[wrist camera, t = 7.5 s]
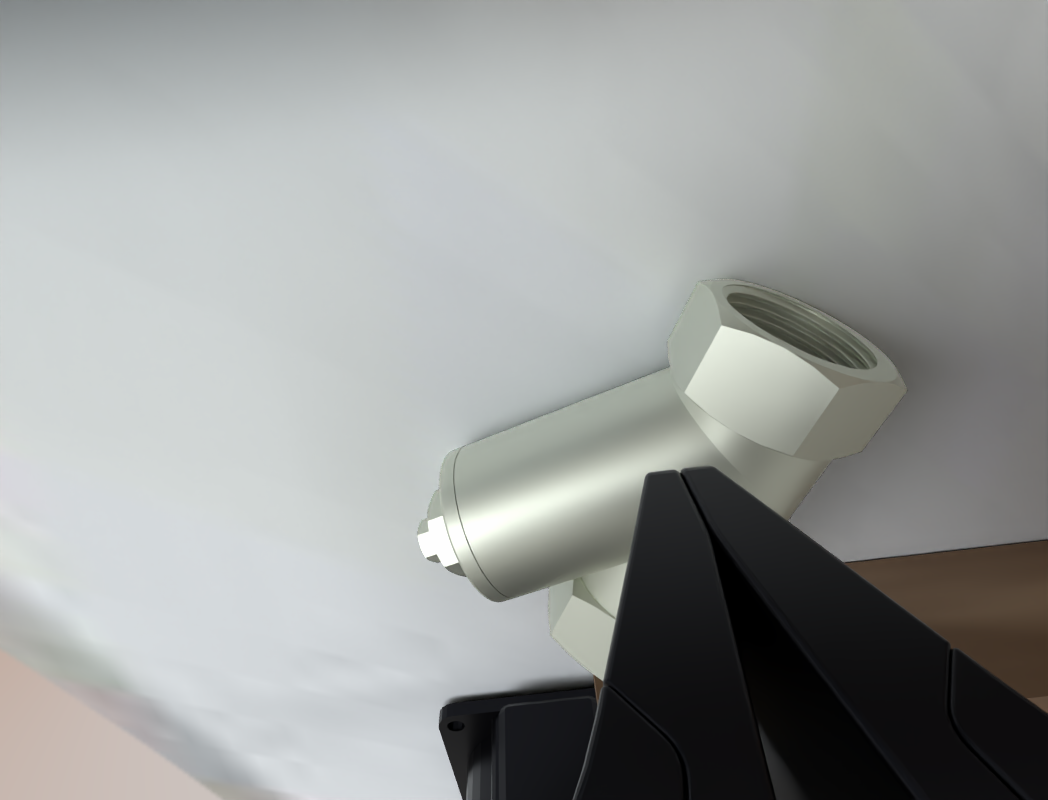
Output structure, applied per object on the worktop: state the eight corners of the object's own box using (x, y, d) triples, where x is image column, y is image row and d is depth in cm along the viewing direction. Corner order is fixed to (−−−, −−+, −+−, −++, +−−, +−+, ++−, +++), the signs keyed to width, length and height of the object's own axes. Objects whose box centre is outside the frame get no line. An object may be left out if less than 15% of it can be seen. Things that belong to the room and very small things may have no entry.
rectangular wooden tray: (1108, 559, 17) (1311, 748, 13) (510, 627, 18) (515, 828, 13) (1606, -458, 8) (2873, -968, 4) (332, -252, 8) (169, -492, 4)
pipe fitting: (420, 507, 16) (670, 580, 17) (385, 637, 13) (699, 718, 14) (528, 197, 12) (844, 312, 13) (518, 266, 9) (943, 414, 10)
